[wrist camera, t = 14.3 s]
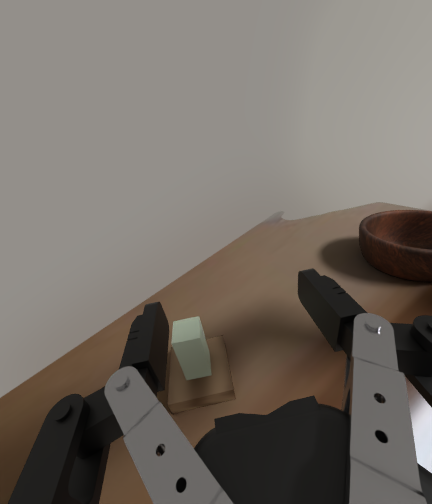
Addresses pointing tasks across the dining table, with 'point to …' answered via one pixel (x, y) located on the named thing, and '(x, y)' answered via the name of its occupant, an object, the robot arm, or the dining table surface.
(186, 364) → the pillar
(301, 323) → the dining table surface
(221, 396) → the base slab
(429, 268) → the wooden bowl
